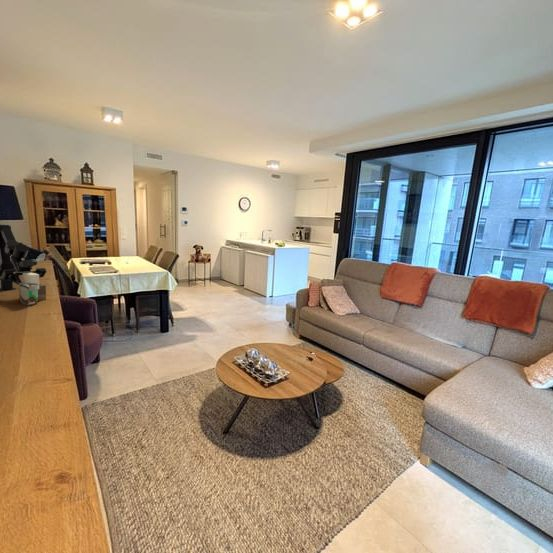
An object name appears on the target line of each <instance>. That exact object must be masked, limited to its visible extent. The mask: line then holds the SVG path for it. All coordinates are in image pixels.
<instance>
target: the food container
mask: <svg viewBox="0 0 553 553" xmlns="http://www.w3.org/2000/svg"><path fill="white" fill-rule="evenodd" d="M19 287H20V296H21V302H20V303H21V304H23V305H25V306H28V307H31V305H32V306H36V305H37V304H38V301H37V298H38V289H40V288H39V285H38V284H36V283H23V282H22V283H19V285H18V288H19ZM20 296H19V297H20Z"/></svg>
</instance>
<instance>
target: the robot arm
mask: <svg viewBox="0 0 553 553" xmlns="http://www.w3.org/2000/svg"><path fill="white" fill-rule="evenodd" d="M29 250H30V248H29V246H28V245H27V244H24V243H23V242H19V241H17V240H16V237H15V236H14V233H13V231H12V227H11V225H9V224H0V290H1V291H7V290H8V291H9V289H10V290H16V289H17V287H14V283H15V285H17V286H19V283H23V281H22V280H21V278H20V276H21V277H23V273H35V274H39V279H40V278H44V276H45V275H46V273H47V269H46V268H45V267H39V268H38V267H37V268H36V269H35V270H33V267H34V266H36V265H38V261H37V259H35V258H34V259H32V258H31V259H25V258H26V257H27V256H28V252H29Z"/></svg>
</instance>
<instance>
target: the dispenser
mask: <svg viewBox="0 0 553 553" xmlns="http://www.w3.org/2000/svg"><path fill="white" fill-rule="evenodd" d="M46 287H47V286H46V284H42V283H41V284H40V283H39V288H40V289H38V298H37V302H39V301H38V300H41V301H46V300H47V290H46V289H47V288H46ZM18 291H19V294H18V295H19V302H20V301H21V296H20V287H19V286H18Z"/></svg>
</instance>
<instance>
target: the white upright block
mask: <svg viewBox="0 0 553 553" xmlns="http://www.w3.org/2000/svg"><path fill="white" fill-rule="evenodd" d="M22 283H36V284H38V285H39V284H40V278H39V274H35V273H23V276H22Z"/></svg>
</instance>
